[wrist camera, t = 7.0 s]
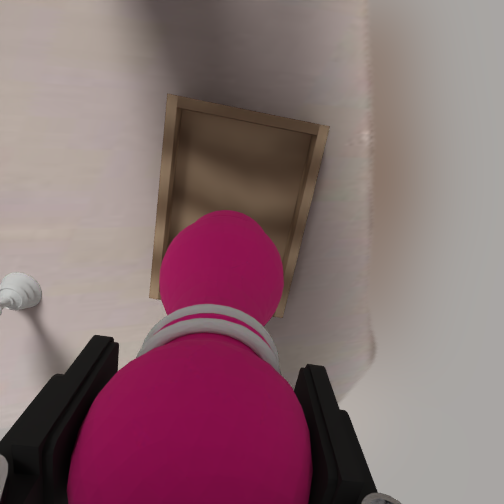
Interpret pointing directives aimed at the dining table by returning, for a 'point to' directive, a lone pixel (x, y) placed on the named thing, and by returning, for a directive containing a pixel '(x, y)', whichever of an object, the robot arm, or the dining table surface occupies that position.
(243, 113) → the serving tray
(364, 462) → the robot arm
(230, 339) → the pepper mill
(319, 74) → the dining table surface
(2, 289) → the chalice
